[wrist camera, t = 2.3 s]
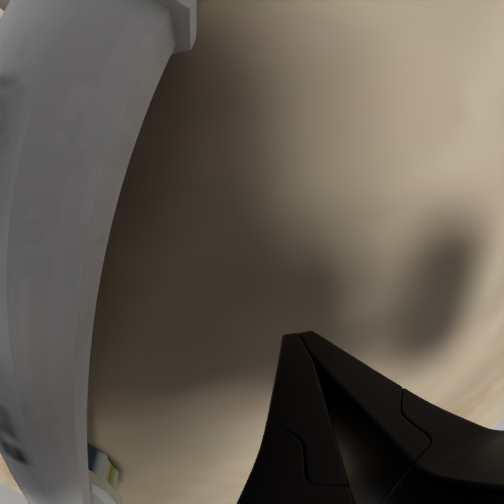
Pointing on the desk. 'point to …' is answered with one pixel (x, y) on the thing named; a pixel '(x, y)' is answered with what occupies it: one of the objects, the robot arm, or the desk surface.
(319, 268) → the desk surface
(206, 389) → the desk surface
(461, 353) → the desk surface
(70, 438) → the grey elongated rounded piece
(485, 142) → the desk surface
